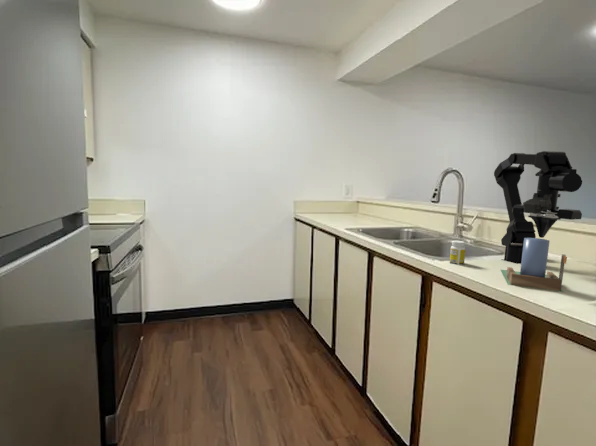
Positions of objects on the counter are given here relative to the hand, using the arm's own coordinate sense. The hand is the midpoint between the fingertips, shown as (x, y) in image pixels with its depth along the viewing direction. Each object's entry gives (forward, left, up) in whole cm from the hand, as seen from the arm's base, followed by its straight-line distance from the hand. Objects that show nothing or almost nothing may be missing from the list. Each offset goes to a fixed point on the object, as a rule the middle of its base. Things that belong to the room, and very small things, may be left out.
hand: (541, 237), depth 114 cm
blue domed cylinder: (+11, -18, -11) cm, 24 cm away
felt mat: (+7, -14, -12) cm, 20 cm away
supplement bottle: (-15, -20, -12) cm, 28 cm away
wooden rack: (+11, -18, -11) cm, 24 cm away
